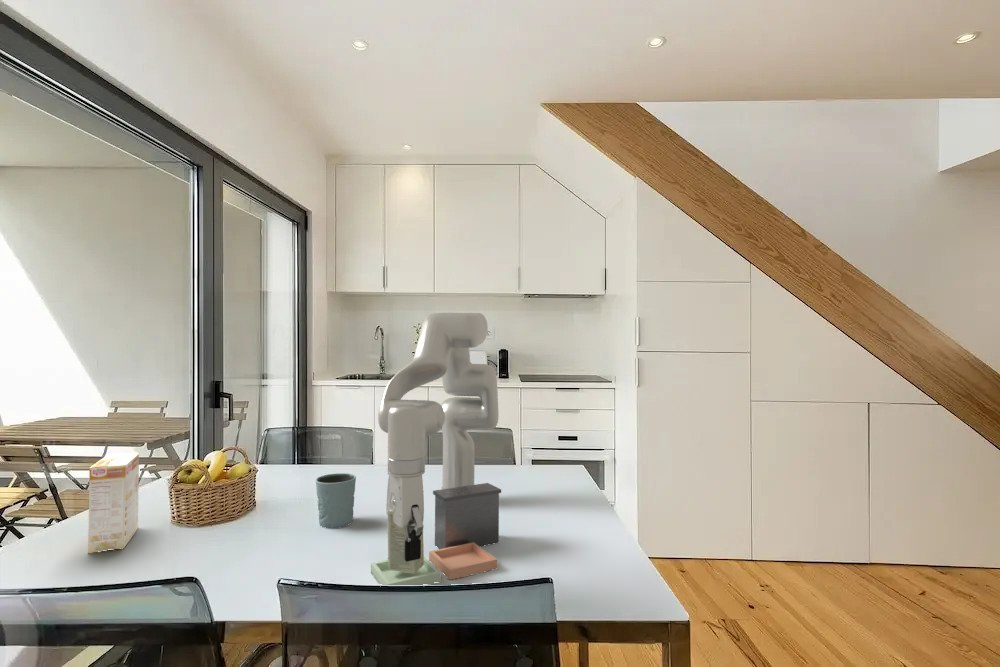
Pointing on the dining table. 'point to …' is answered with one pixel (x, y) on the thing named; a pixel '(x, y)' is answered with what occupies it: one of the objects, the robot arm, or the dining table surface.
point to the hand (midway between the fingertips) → (405, 552)
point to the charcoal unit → (467, 515)
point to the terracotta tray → (462, 560)
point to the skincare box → (400, 548)
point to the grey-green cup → (335, 499)
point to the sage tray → (405, 574)
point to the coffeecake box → (113, 501)
